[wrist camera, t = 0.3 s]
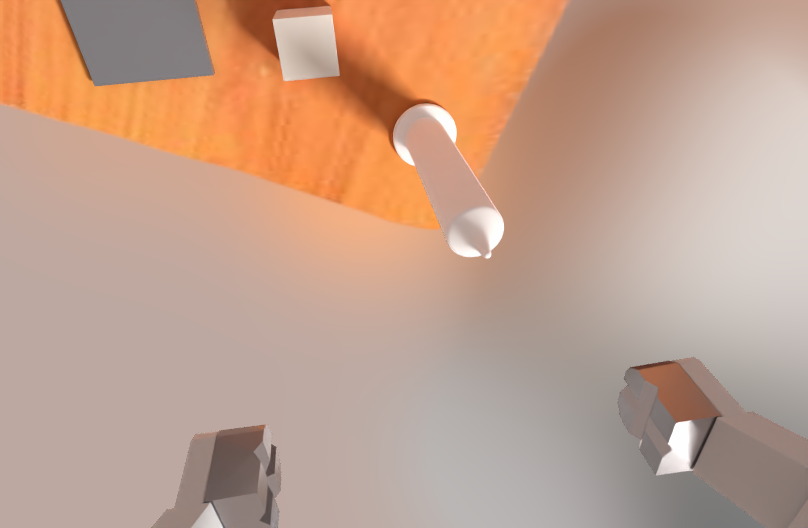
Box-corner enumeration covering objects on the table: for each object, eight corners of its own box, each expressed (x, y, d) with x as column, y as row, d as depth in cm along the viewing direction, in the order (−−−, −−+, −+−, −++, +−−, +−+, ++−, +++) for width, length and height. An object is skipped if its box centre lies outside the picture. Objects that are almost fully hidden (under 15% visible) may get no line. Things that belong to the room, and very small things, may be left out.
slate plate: (44, -52, 41) (39, -52, 41) (179, -62, 42) (177, -61, 42) (97, 84, 48) (94, 86, 47) (214, 73, 48) (213, 75, 48)
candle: (388, 161, 56) (429, 295, 36) (397, 99, 52) (450, 207, 32) (448, 167, 58) (520, 298, 37) (461, 106, 54) (550, 215, 33)
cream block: (276, 10, 46) (272, 19, 41) (330, 5, 47) (332, 14, 42) (287, 66, 49) (283, 81, 44) (337, 61, 50) (339, 75, 45)
